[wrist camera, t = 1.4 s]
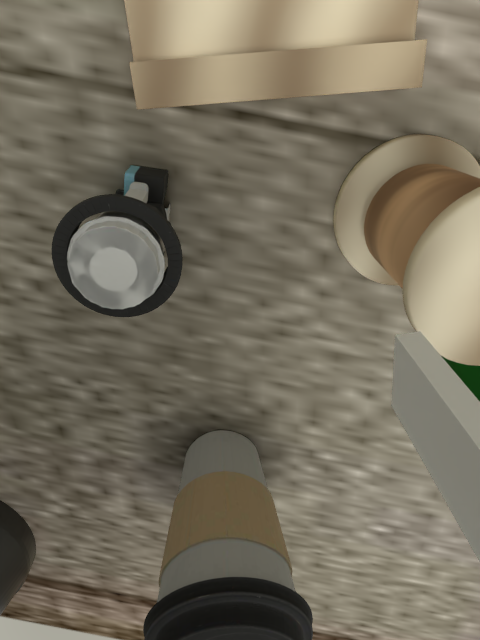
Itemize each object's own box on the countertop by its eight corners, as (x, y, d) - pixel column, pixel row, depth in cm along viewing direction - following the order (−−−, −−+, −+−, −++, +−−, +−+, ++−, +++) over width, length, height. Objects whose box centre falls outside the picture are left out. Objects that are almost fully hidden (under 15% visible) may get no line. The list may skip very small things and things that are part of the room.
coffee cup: (158, 491, 38) (130, 710, 25) (172, 404, 34) (148, 613, 21) (265, 501, 39) (294, 713, 26) (292, 418, 35) (343, 622, 22)
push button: (183, 274, 29) (172, 359, 20) (98, 264, 28) (48, 347, 19) (194, 167, 26) (186, 213, 17) (99, 153, 25) (40, 193, 16)
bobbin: (331, 284, 30) (389, 383, 20) (335, 140, 26) (413, 177, 16) (464, 273, 30) (585, 365, 20) (491, 128, 26) (661, 157, 16)
